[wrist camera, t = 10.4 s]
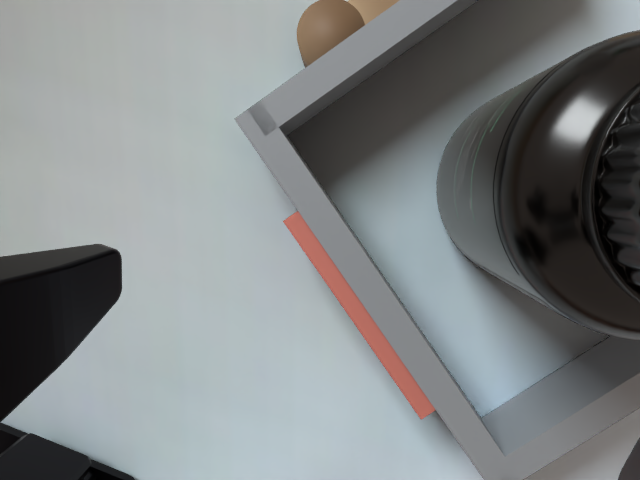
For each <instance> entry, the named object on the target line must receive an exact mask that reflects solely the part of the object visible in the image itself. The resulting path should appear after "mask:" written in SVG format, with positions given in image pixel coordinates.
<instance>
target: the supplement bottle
mask: <svg viewBox="0 0 640 480" xmlns="http://www.w3.org/2000/svg"><path fill="white" fill-rule="evenodd" d="M437 202H438V208H439V212H440V215H441V219H442V221H443V224H444V226H445V228H446V230H447V232H448V234H449V236H450V237H451V239H452V241H453V242H454V243H455V245H456V246H457V247H458V248H459V250H460V251H461V252H462V253H463V254H464V255H465V256H466V257H467V258H468V259H470V260H471V261H472V262H473V263H474V264H476V265H477V266H479V267H480V268H482V269H483V270H485V271H486V272H488V273H490V274H491V275H493V276H495V277H496V278H498V279H500V280H502V281H503V282H505V283H507V284H508V285H510V286H512V287H514V288H515V289H517V290H519V291H520V292H522V293H524V294H526V295H527V296H529V297H531V298H532V299H534V300H536V301H538V302H539V303H541V304H543V305H544V306H546V307H548V308H550V309H551V310H553V311H555V312H556V313H558V314H560V315H562V316H564V317H565V318H567V319H569V320H571V321H573V322H575V323H577V324H579V325H582V326H584V327H587V328H589V329H592V330H594V331H597V332H599V333H603V334H606V335H609V336H613V337H618V338H623V339H630V340H640V30H637V31H632V32H628V33H624V34H621V35H618V36H615V37H612V38H609V39H606V40H604V41H602V42H599V43H597V44H595V45H592V46H590V47H587V48H585V49H583V50H582V51H580V52H578V53H576V54H574V55H572V56H570V57H569V58H567V59H565V60H563V61H561V62H559V63H558V64H556V65H554V66H552V67H550V68H548V69H547V70H545V71H543V72H541V73H539V74H537V75H536V76H534V77H532V78H530V79H528V80H526V81H525V82H523V83H521V84H519V85H517V86H515V87H514V88H512V89H510V90H508V91H506V92H504V93H503V94H501V95H499V96H497V97H495V98H493V99H492V100H490V101H489V102H487V103H486V104H484V105H483V106H481V107H480V108H478V109H477V110H476V111H474V112H473V113H472V114H471V115H470V116H469V117H468V118H467V119H466V120H465V121H464V122H463V123H462V124H461V125H460V126H459V128H458V129H457V130H456V131H455V133H454V134H453V136H452V137H451V139H450V141H449V143H448V144H447V146H446V148H445V151H444V153H443V156H442V159H441V162H440V165H439V170H438V176H437Z"/></svg>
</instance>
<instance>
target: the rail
mask: <svg viewBox="0 0 640 480" xmlns="http://www.w3.org/2000/svg"><path fill="white" fill-rule="evenodd" d="M398 1H399V0H349V1H348V2H346V1H344V0H319V1H317V2H315V3H314V4H312V5H311V6H310V7H308V8H307V9H306V11H305V12H304V13H303V15H302V16H301V18H300V21H299V23H298V27H297V41H298V45H299V49H300V53H301V56H302V60H303V63H304V66H305V67H307V66H309V65H310V64H312V63H313V62H314V61H316V60H317V59H319V58H320V57H321V56H323V55H324V54H326V53H327V52H328V51H330V50H331V49H333V48H334V47H335V46H337V45H338V44H339V43H341V42H342V41H344V40H345V39H346V38H348V37H349V36H351V35H352V34H353V33H355V32H356V31H358V30H359V29H360V28H362V27H363V26H365V25H366V24H367V23H369V22H370V21H372V20H373V19H374V18H376V17H377V16H379V15H380V14H381V13H383V12H384V11H386V10H387V9H388V8H390V7H391V6H393V5H394V4H395V3H397V2H398Z"/></svg>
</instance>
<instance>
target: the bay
mask: <svg viewBox="0 0 640 480" xmlns="http://www.w3.org/2000/svg"><path fill="white" fill-rule="evenodd" d="M476 1H478V0H399V1H398V2H397V3H395V4H394V5H393V6H391V7H390V8H388V9H387V10H386V11H384V12H383V13H381V14H380V15H379V16H377V17H376V18H374V19H373V20H372V21H370V22H369V23H367V24H366V25H365V26H363V27H362V28H360V29H359V30H358V31H356V32H355V33H353V34H352V35H351V36H349V37H348V38H346V39H345V40H344V41H342V42H341V43H339V44H338V45H337V46H335V47H334V48H333V49H331V50H330V51H328V52H327V53H326V54H324V55H323V56H321V57H320V58H319V59H317V60H316V61H314V62H313V63H312V64H310V65H309V66H307V67H306V68H305V69H303V70H302V71H300V72H299V73H298V74H296V75H295V76H293V77H292V78H291V79H289V80H288V81H286V82H285V83H284V84H282V85H281V86H279V87H278V88H277V89H275V90H274V91H272V92H271V93H270V94H268V95H267V96H266V97H264V98H263V99H261V100H260V101H259V102H257V103H256V104H254V105H253V106H252V107H250V108H249V109H247V110H246V111H245V112H243V113H242V114H240V115H239V116H238V117H236V118H235V121H236V122H237V124H238V125H239V127H240V128H241V129H242V131H243V132H244V134H245V135H246V137H247V138H248V140H249V141H250V142H251V144H252V145H253V147H254V148H255V150H256V151H257V153H258V154H259V155H260V157H261V158H262V160H263V161H264V163H265V164H266V166H267V167H268V168H269V170H270V171H271V173H272V174H273V176H274V177H275V179H276V180H277V181H278V183H279V184H280V186H281V187H282V189H283V190H284V192H285V193H286V194H287V196H288V197H289V199H290V200H291V202H292V203H293V205H294V206H295V207H296V209H297V210H298V211H297V212H296V213H294V214H293V215H291V216H290V217H288V218H287V219H286V220H284V221H283V222H284V223H285V225H286V226H287V228H288V229H289V230H290V232H291V233H292V235H293V236H294V238H295V239H296V240H297V242H298V243H299V245H300V246H301V248H302V249H303V251H304V252H305V253H306V255H307V256H308V258H309V259H310V261H311V262H312V263H313V265H314V266H315V268H316V269H317V271H318V272H319V274H320V275H321V276H322V278H323V279H324V281H325V282H326V284H327V285H328V286H329V288H330V289H331V291H332V292H333V294H334V295H335V297H336V298H337V299H338V301H339V302H340V304H341V305H342V307H343V308H344V309H345V311H346V312H347V314H348V315H349V317H350V318H351V320H352V321H353V322H354V324H355V325H356V327H357V328H358V330H359V331H360V332H361V334H362V335H363V337H364V338H365V340H366V341H367V343H368V344H369V345H370V347H371V348H372V350H373V351H374V353H375V354H376V356H377V357H378V358H379V360H380V361H381V363H382V364H383V366H384V367H385V368H386V370H387V371H388V373H389V374H390V376H391V377H392V379H393V380H394V381H395V383H396V384H397V386H398V387H399V389H400V390H401V391H402V393H403V394H404V396H405V397H406V399H407V400H408V402H409V403H410V404H411V406H412V407H413V409H414V410H415V412H416V413H417V414H418V416H419V417H420V419H423V418H424V417H426V416H427V415H429V414H431V413H432V412H434V411H435V410H436V411H437V413H438V414H439V415H440V417H441V418H442V420H443V421H444V423H445V424H446V426H447V427H448V428H449V430H450V431H451V433H452V434H453V436H454V437H455V439H456V440H457V441H458V443H459V444H460V446H461V447H462V449H463V450H464V452H465V453H466V454H467V456H468V457H469V459H470V460H471V462H472V463H473V465H474V466H475V467H476V469H477V470H478V472H479V473H480V475H481V476H482V478H483V479H484V480H524V479H525V478H527V477H528V476H530V475H532V474H533V473H535V472H537V471H538V470H540V469H541V468H543V467H545V466H546V465H548V464H549V463H551V462H553V461H554V460H556V459H558V458H559V457H561V456H562V455H564V454H566V453H567V452H569V451H571V450H572V449H574V448H575V447H577V446H579V445H580V444H582V443H583V442H585V441H587V440H588V439H590V438H592V437H593V436H595V435H596V434H598V433H600V432H601V431H603V430H604V429H606V428H608V427H609V426H611V425H613V424H614V423H616V422H617V421H619V420H621V419H622V418H624V417H626V416H627V415H629V414H630V413H632V412H634V411H635V410H637V409H638V408H640V340H630V339H623V338H618V337H613V336H610V337H609V338H607V339H605V340H604V341H602V342H601V343H599V344H598V345H596V346H594V347H593V348H591V349H590V350H588V351H587V352H585V353H583V354H582V355H580V356H579V357H577V358H575V359H574V360H572V361H571V362H569V363H568V364H566V365H564V366H563V367H561V368H560V369H558V370H557V371H555V372H553V373H552V374H550V375H549V376H547V377H545V378H544V379H542V380H541V381H539V382H538V383H536V384H534V385H533V386H531V387H530V388H528V389H527V390H525V391H523V392H522V393H520V394H519V395H517V396H515V397H514V398H512V399H511V400H509V401H508V402H506V403H504V404H503V405H501V406H500V407H498V408H497V409H495V410H493V411H492V412H490V413H489V414H487V415H485V416H484V417H482V418H481V417H480V416H479V414H478V413H477V411H476V410H475V409H474V407H473V406H472V404H471V403H470V401H469V400H468V398H467V397H466V395H465V394H464V393H463V391H462V390H461V388H460V387H459V385H458V384H457V382H456V381H455V379H454V378H453V377H452V375H451V374H450V372H449V371H448V369H447V368H446V366H445V365H444V363H443V362H442V360H441V359H440V358H439V356H438V355H437V353H436V352H435V350H434V349H433V347H432V346H431V344H430V343H429V342H428V340H427V339H426V337H425V336H424V334H423V333H422V331H421V330H420V328H419V327H418V326H417V324H416V323H415V321H414V320H413V318H412V317H411V315H410V314H409V312H408V311H407V309H406V308H405V307H404V305H403V304H402V302H401V301H400V299H399V298H398V296H397V295H396V293H395V292H394V291H393V289H392V288H391V286H390V285H389V283H388V282H387V280H386V279H385V277H384V276H383V274H382V273H381V272H380V270H379V269H378V267H377V266H376V264H375V263H374V261H373V260H372V258H371V257H370V256H369V254H368V253H367V251H366V250H365V248H364V247H363V245H362V244H361V242H360V241H359V240H358V238H357V237H356V235H355V234H354V232H353V231H352V229H351V228H350V226H349V225H348V223H347V222H346V221H345V219H344V218H343V216H342V215H341V213H340V212H339V210H338V209H337V207H336V206H335V205H334V203H333V202H332V200H331V199H330V197H329V196H328V194H327V193H326V191H325V190H324V188H323V187H322V186H321V184H320V183H319V181H318V180H317V178H316V177H315V175H314V174H313V172H312V171H311V170H310V168H309V167H308V165H307V164H306V162H305V161H304V159H303V158H302V156H301V155H300V154H299V152H298V151H297V149H296V148H295V146H294V145H293V143H292V142H291V140H290V139H289V137H288V136H287V135H288V134H290V133H291V132H292V131H294V130H295V129H297V128H298V127H300V126H301V125H302V124H304V123H305V122H307V121H308V120H309V119H311V118H312V117H314V116H315V115H317V114H318V113H319V112H321V111H322V110H324V109H325V108H326V107H328V106H329V105H331V104H332V103H334V102H335V101H336V100H338V99H339V98H341V97H342V96H343V95H345V94H346V93H348V92H349V91H350V90H352V89H353V88H355V87H356V86H358V85H359V84H360V83H362V82H363V81H365V80H366V79H367V78H369V77H370V76H372V75H373V74H375V73H376V72H377V71H379V70H380V69H382V68H383V67H384V66H386V65H387V64H389V63H390V62H392V61H393V60H394V59H396V58H397V57H399V56H400V55H401V54H403V53H404V52H406V51H407V50H409V49H410V48H411V47H413V46H414V45H416V44H417V43H418V42H420V41H421V40H423V39H424V38H426V37H427V36H428V35H430V34H431V33H433V32H434V31H435V30H437V29H438V28H440V27H441V26H442V25H444V24H445V23H447V22H448V21H450V20H451V19H452V18H454V17H455V16H457V15H458V14H459V13H461V12H462V11H464V10H465V9H467V8H468V7H469V6H471V5H472V4H474V3H475V2H476Z"/></svg>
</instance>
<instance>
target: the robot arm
mask: <svg viewBox="0 0 640 480" xmlns="http://www.w3.org/2000/svg"><path fill="white" fill-rule="evenodd" d="M121 291H122V259H121V255H120V253H119V251H118V250H116V249H113V248H111V247H108V246H105V245H102V244H93V245H85V246H78V247H70V248H63V249H56V250H48V251H41V252H33V253H26V254H18V255H11V256H3V257H0V422H1V421H2V420H3V419H4V418H5V417H7V416H8V415H9V414H10V413H11V412H12V411H13V410H14V409H15V408H16V407H17V406H18V405H19V404H20V403H21V402H22V401H23V400H24V399H25V398H27V397H28V396H29V395H30V394H31V393H32V392H33V391H34V390H35V389H36V388H37V387H38V386H39V385H40V384H41V383H42V382H43V381H44V380H46V379H47V378H48V377H49V376H50V375H51V374H52V373H53V372H54V371H55V370H56V369H57V368H58V367H59V366H60V365H61V364H62V363H63V362H64V361H65V360H66V359H67V358H68V357H69V356H70V355H71V354H72V352H73V351H74V350H75V349H76V348H77V347H78V346H79V345H80V343H81V342H82V341H83V340H84V339H85V338H86V336H87V335H88V334H89V333H90V332H91V331H92V330H93V328H94V327H95V326H96V325H97V324H98V323H99V321H100V320H101V319H102V318H103V317H104V316H105V315H106V313H107V312H108V311H109V310H110V309H111V308H112V306H113V305H114V304H115V303H116V302H117V300H118V299H119V297H120V294H121ZM0 480H135V479H134V478H133V477H132V476H130V475H128V474H126V473H123V472H121V471H118V470H116V469H113V468H111V467H109V466H106V465H104V464H101V463H99V462H96V461H94V460H91V459H89V457H88V456H86V455H84V454H81V453H79V452H76V451H74V450H71V449H69V448H66V447H64V446H62V445H59V444H57V443H54V442H52V441H49V440H47V439H44V438H42V437H39V436H37V435H34V434H31V433H30V434H27V433H25V432H22V431H20V430H17V429H15V428H12V427H10V426H7V425H5V424H3V423H0ZM618 480H640V438H639V439H638V441H637V443H636V444H635V446H634V448H633V450H632V452H631V454H630V455H629V457H628V459H627V461H626V463H625V465H624V466H623V468H622V470H621V472H620V475H619V478H618Z"/></svg>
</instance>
